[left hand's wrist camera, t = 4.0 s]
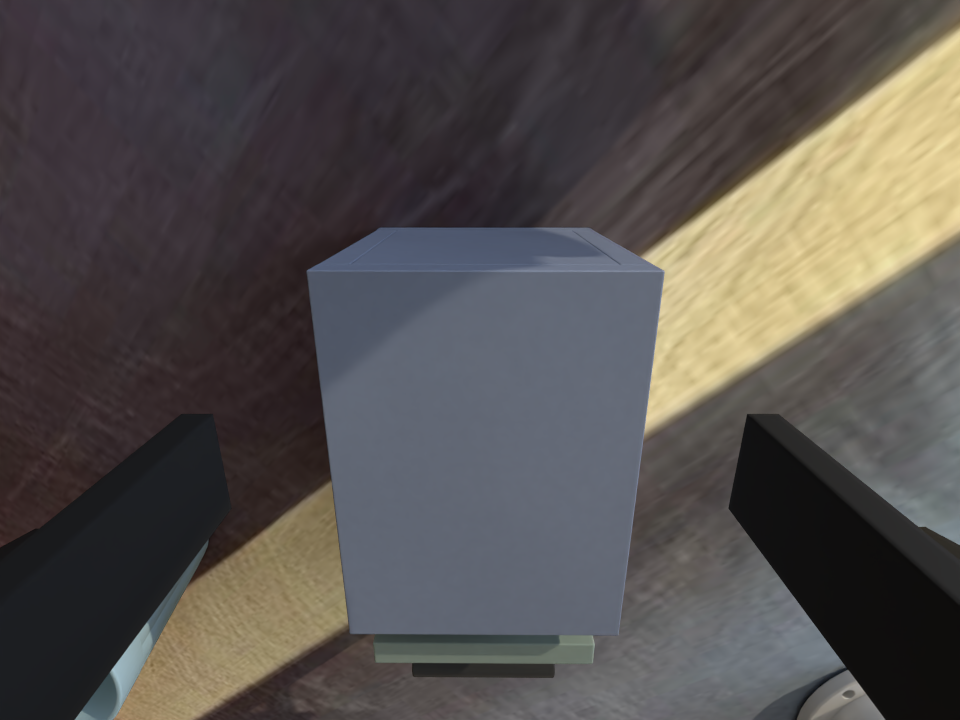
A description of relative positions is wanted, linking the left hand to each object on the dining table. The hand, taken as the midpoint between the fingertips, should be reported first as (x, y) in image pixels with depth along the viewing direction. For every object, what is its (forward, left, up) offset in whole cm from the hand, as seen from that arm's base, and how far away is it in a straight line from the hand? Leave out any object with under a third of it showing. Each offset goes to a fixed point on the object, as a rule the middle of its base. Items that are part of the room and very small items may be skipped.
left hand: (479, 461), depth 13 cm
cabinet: (+3, +1, -16) cm, 16 cm away
